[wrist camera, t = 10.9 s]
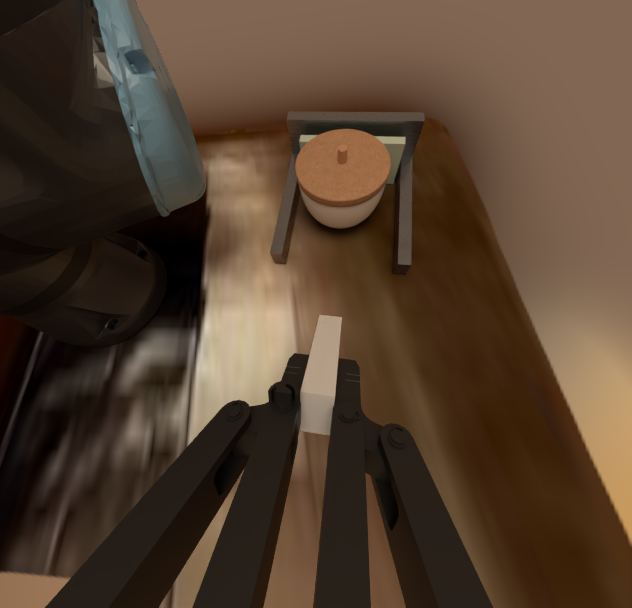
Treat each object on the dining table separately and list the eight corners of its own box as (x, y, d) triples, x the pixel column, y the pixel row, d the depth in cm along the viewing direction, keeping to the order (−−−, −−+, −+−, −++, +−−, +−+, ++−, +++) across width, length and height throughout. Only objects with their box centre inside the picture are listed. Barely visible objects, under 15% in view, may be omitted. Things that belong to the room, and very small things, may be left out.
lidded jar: (310, 179, 35) (301, 111, 26) (381, 183, 34) (398, 113, 25) (297, 239, 32) (282, 184, 23) (375, 246, 30) (391, 191, 22)
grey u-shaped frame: (275, 263, 31) (258, 231, 24) (297, 160, 36) (288, 111, 30) (404, 274, 29) (425, 243, 22) (407, 163, 34) (424, 112, 28)
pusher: (305, 180, 35) (299, 141, 29) (306, 174, 35) (300, 134, 30) (393, 184, 33) (405, 144, 28) (393, 177, 34) (405, 136, 28)
